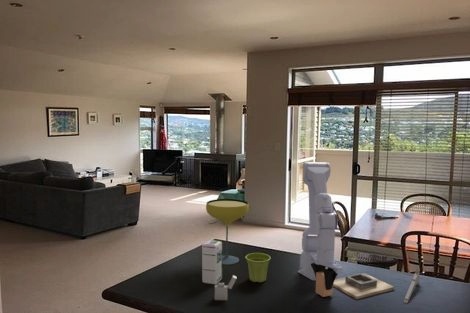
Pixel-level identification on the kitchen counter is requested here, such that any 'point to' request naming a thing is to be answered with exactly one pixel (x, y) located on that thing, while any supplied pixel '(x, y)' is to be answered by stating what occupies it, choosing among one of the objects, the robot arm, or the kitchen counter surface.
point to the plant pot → (257, 266)
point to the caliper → (412, 285)
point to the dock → (361, 285)
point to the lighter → (223, 289)
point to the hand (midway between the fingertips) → (324, 286)
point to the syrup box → (212, 261)
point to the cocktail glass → (227, 218)
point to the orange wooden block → (322, 285)
